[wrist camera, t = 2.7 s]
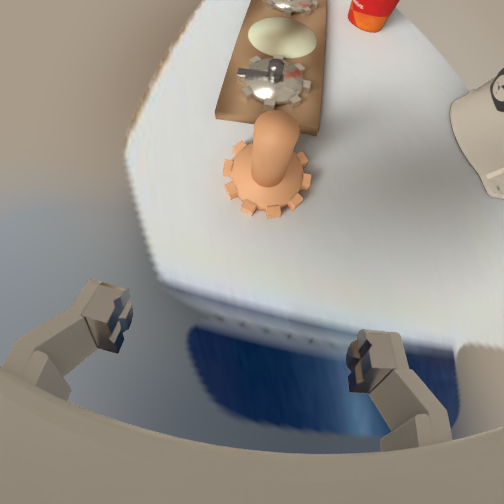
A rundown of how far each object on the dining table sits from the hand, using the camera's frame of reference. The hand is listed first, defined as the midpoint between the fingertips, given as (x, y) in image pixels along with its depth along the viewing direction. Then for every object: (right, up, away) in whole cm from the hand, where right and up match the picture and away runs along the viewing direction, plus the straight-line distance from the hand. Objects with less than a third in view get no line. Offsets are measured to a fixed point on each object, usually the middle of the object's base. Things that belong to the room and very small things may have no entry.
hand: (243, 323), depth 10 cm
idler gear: (+2, +10, +20) cm, 22 cm away
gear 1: (+6, +39, +21) cm, 45 cm away
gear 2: (+3, +21, +19) cm, 29 cm away
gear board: (+4, +30, +22) cm, 37 cm away
